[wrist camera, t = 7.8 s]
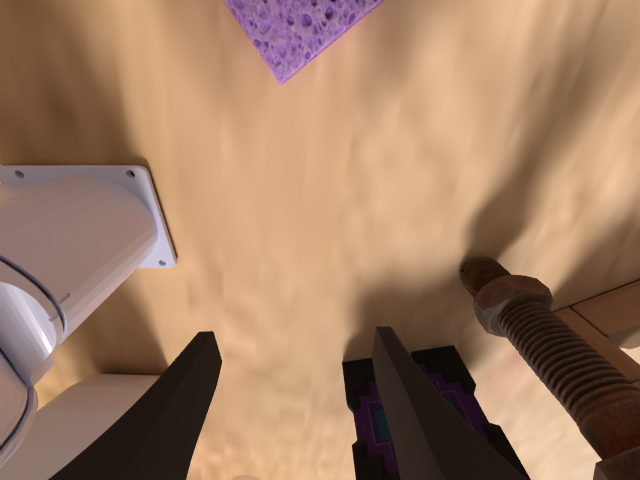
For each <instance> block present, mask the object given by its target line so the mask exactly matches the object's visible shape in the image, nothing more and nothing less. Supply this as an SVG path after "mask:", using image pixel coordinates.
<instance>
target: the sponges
mask: <svg viewBox="0 0 640 480" xmlns="http://www.w3.org/2000/svg"><path fill="white" fill-rule="evenodd" d="M224 1H225V3H226V4H227V6H228V8H229V9H230V10H231V12H232V13H233V15H234V16H235V18H236V19H237V21H238V22H239V24H240V25H241V26H242V28H243V29H244V31H245V33H246V34H247V36H248V37H249V39H250V40H251V41H252V43H253V44H254V46H255V47H256V49H257V50H258V51H259V53H260V55H261V56H262V58H263V60H264V61H265V62H266V64H267V65H268V67H269V68H270V70H271V71H272V73H273V74H274V76H275V77H276V79H277V81H278V82H279V84H280V85H282V84H283V83H284V82H286V81H287V80H288V79H290V78H291V77H292V76H293V75H294V74H296V73H297V72H298V71H299V70H300V69H302V68H303V67H304V66H305V65H306V64H307V63H309V62H310V61H311V60H312V59H314V58H315V57H316V56H317V55H319V54H320V53H321V52H322V51H323V50H325V49H326V48H327V47H328V46H330V45H331V44H332V43H333V42H334V41H336V40H337V39H338V38H339V37H341V36H342V35H343V34H344V33H345V32H346V31H347V30H349V29H350V28H351V27H352V26H354V25H355V24H356V23H357V22H359V21H360V20H361V19H362V18H363V17H364V16H365V15H367V14H368V13H369V12H371V11H372V10H373V9H375V8H376V7H377V6H378V5H380V4H381V3H382V2H383V1H384V0H224Z"/></svg>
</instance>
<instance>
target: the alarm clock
mask: <svg viewBox="0 0 640 480" xmlns="http://www.w3.org/2000/svg"><path fill="white" fill-rule="evenodd" d="M160 376H161V375H132V374H96V375H93V376H91V377H89V378H87V379H85V380H82V381H80V382H78V383H76V384H74V385H72V386H70V387H68V388H67V389H66V390H65V391H63V392H62V393H61V394H59V395H58V396H57V397H55V398H54V399H53V400H51V401H50V402H49V403H48V404H46V405H45V406H44V407H42V408H41V409H40V410H39V411H38V412H37V414H36V416H35V419H34V422H33V424H32V426H31V428H30V430H29V431H28V433H27V435H26V437H25V438H24V440H23V441H22V442H21V444H20V445H19V447H18V448H17V449H16V451H15V452H14V453H13V454H12V456H11V457H10V458H9V459H8V460H7V461H6V462H5V464H4V465H3V466H2V467H1V468H0V480H48V479H49V478H50V477H52V476H53V475H54V474H55V473H57V472H58V471H59V470H61V469H62V468H63V467H64V466H66V465H67V464H68V463H69V462H70V461H72V460H73V459H74V458H75V457H76V456H78V455H79V454H80V453H81V452H82V451H83V450H85V449H86V448H87V447H88V446H89V445H90V444H91V443H93V442H94V441H95V440H96V439H97V438H98V437H99V436H101V435H102V434H103V433H104V432H105V431H106V430H107V429H108V428H109V427H110V426H112V425H113V424H114V423H115V422H116V421H117V420H118V419H119V418H120V417H121V416H122V415H123V414H124V413H125V412H126V411H127V410H128V409H129V408H130V407H131V406H132V405H133V404H134V403H135V402H136V401H137V400H138V399H139V398H140V397H141V396H142V395H143V394H144V393H145V392H146V391H147V390H148V389H149V388H150V387H151V386H152V385H153V384H154V383H155V382H156V380H157V379H158V378H159V377H160Z"/></svg>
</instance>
